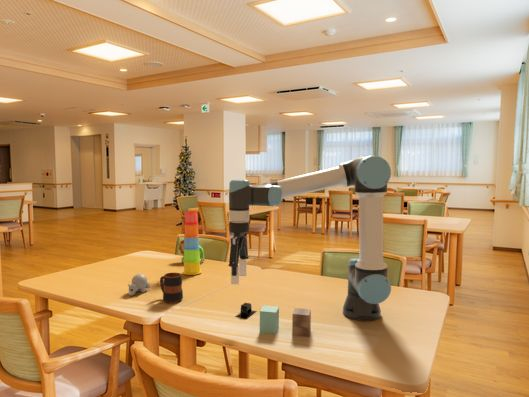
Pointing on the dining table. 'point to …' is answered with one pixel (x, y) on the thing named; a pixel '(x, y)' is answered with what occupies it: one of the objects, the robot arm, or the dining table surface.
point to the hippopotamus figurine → (138, 284)
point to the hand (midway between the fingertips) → (238, 279)
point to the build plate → (246, 311)
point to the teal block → (269, 319)
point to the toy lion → (181, 246)
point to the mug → (172, 287)
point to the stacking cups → (191, 244)
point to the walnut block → (301, 322)
